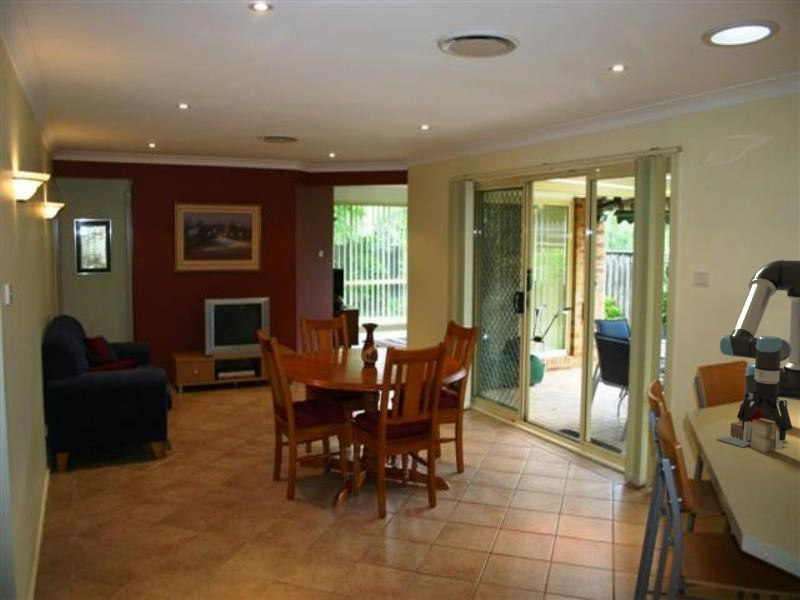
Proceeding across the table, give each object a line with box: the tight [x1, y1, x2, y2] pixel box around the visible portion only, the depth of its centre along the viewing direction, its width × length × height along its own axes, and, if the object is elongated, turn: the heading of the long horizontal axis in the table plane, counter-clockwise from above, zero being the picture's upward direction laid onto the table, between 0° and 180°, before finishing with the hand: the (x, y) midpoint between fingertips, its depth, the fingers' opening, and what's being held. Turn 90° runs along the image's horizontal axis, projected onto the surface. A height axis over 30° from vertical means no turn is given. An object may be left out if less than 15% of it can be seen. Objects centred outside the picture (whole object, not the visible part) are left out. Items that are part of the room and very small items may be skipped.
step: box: [729, 421, 777, 444], centre depth 243 cm, size 8×12×5 cm, turn 28°
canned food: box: [738, 400, 764, 423], centre depth 253 cm, size 8×8×11 cm
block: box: [750, 418, 776, 453], centre depth 231 cm, size 5×5×10 cm
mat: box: [716, 436, 751, 448], centre depth 239 cm, size 8×10×1 cm
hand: (762, 444), depth 232 cm, fingers open, 11 cm apart
